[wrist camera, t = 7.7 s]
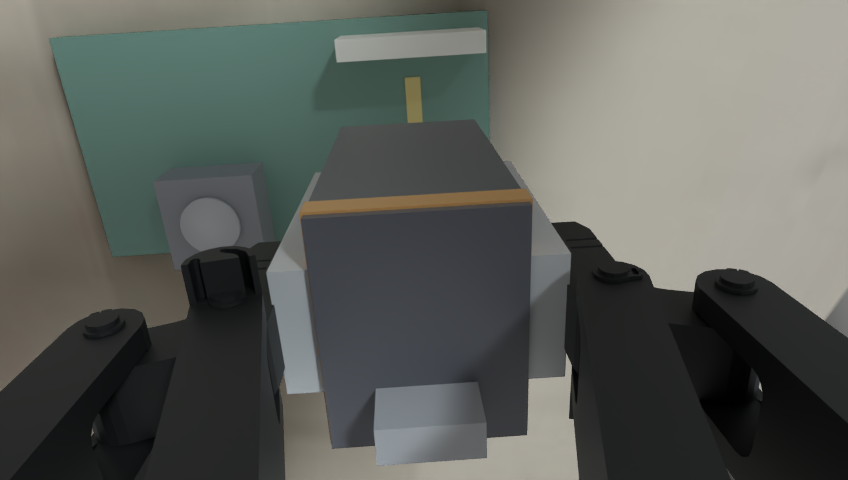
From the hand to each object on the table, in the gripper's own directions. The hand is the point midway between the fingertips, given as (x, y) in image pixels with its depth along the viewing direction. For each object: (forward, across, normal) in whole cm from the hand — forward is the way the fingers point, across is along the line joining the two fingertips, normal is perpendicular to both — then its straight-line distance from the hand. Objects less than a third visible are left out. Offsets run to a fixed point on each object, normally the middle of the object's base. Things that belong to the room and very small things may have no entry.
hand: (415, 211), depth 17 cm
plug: (+1, 0, 0) cm, 1 cm away
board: (+16, -7, -1) cm, 18 cm away
